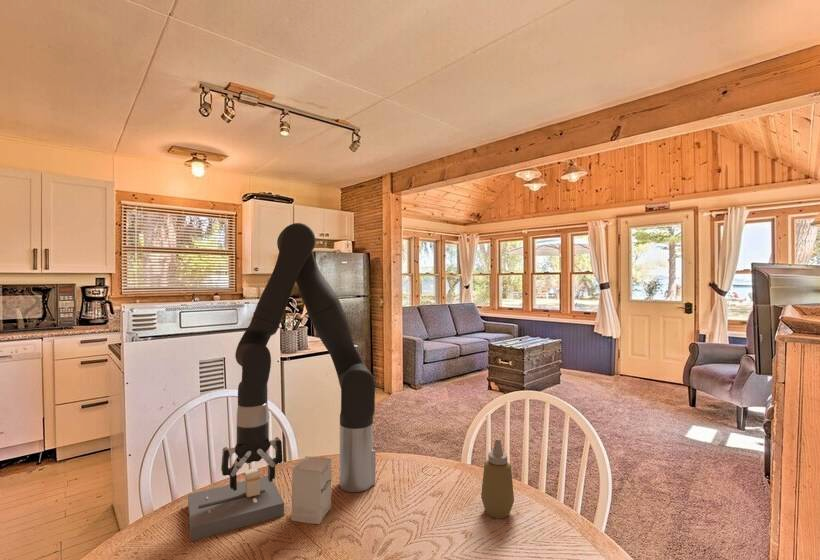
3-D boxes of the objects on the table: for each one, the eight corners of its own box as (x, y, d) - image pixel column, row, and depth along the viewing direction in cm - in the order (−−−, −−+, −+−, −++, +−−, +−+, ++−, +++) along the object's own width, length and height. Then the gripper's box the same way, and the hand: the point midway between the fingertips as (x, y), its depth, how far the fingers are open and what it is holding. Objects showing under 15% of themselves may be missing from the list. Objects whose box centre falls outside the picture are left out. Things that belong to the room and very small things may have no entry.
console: (270, 485, 113) (270, 474, 113) (284, 515, 99) (284, 501, 99) (188, 506, 103) (188, 493, 103) (190, 541, 89) (190, 527, 89)
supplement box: (319, 525, 95) (320, 471, 95) (290, 521, 97) (291, 468, 96) (332, 507, 102) (332, 457, 102) (304, 504, 104) (305, 454, 104)
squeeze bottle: (520, 511, 101) (520, 439, 101) (503, 526, 95) (504, 449, 95) (491, 499, 106) (492, 431, 106) (474, 512, 101) (475, 439, 101)
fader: (257, 487, 105) (257, 467, 105) (260, 494, 102) (260, 474, 102) (244, 490, 104) (244, 470, 104) (246, 497, 100) (247, 477, 100)
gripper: (278, 411, 109) (278, 472, 110) (220, 421, 102) (220, 485, 102) (285, 420, 103) (285, 484, 103) (223, 431, 96) (223, 499, 96)
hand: (252, 484), depth 103 cm, fingers open, 8 cm apart
